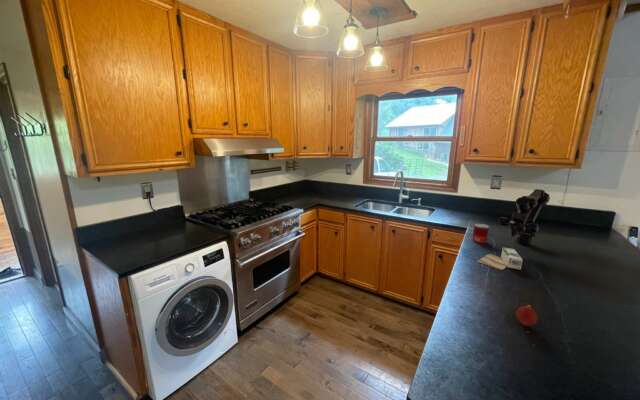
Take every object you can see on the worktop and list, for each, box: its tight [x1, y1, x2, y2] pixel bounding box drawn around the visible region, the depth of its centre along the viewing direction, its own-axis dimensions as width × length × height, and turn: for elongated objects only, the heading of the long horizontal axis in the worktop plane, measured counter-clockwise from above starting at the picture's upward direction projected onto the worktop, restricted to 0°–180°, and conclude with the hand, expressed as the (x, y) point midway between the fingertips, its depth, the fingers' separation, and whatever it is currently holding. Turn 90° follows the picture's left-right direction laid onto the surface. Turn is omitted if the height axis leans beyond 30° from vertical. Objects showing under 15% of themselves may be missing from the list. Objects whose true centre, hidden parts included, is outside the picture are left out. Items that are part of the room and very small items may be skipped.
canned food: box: [472, 223, 490, 244], centre depth 168 cm, size 8×8×11 cm
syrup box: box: [500, 247, 523, 270], centre depth 138 cm, size 6×6×14 cm
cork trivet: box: [476, 253, 508, 271], centre depth 140 cm, size 16×12×1 cm
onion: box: [515, 304, 538, 327], centre depth 91 cm, size 6×6×8 cm
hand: (512, 236), depth 150 cm, fingers closed
